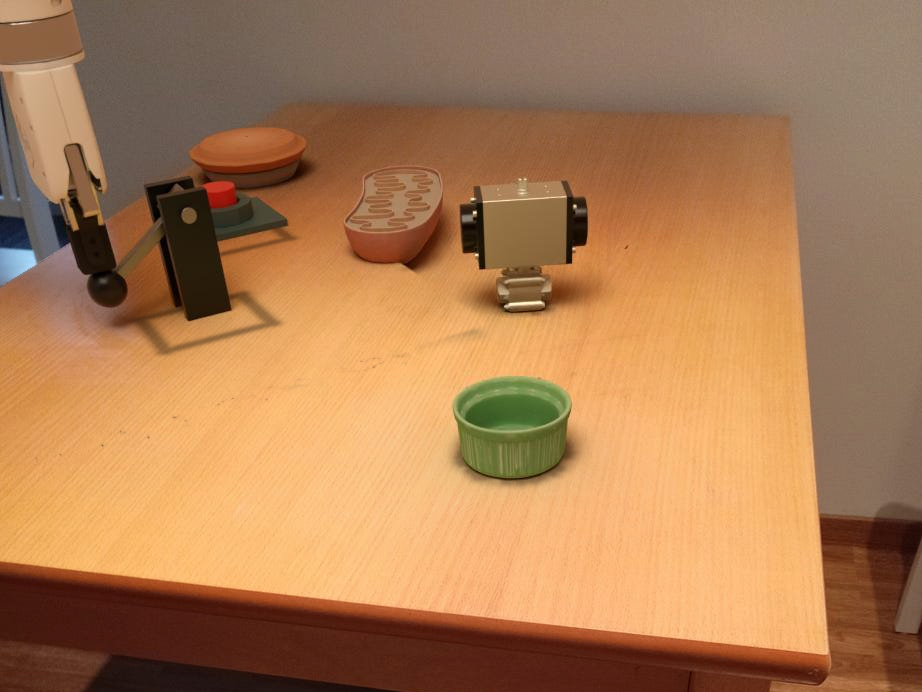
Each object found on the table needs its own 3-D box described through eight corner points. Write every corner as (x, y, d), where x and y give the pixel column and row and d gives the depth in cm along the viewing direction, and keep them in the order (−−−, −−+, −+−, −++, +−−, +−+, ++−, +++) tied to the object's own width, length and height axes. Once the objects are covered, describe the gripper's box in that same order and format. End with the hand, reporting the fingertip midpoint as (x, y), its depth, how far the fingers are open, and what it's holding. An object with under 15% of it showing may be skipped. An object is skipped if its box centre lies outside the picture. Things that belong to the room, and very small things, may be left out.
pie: (292, 195, 130) (285, 153, 127) (178, 194, 132) (168, 153, 129) (324, 159, 141) (319, 120, 138) (219, 159, 144) (211, 120, 140)
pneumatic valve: (586, 311, 99) (589, 182, 91) (466, 319, 99) (459, 190, 91) (578, 289, 103) (581, 163, 95) (463, 296, 103) (457, 171, 95)
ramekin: (594, 448, 79) (596, 396, 76) (519, 497, 74) (518, 445, 71) (507, 414, 84) (505, 364, 81) (431, 458, 79) (427, 407, 76)
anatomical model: (372, 209, 124) (367, 166, 121) (452, 207, 124) (450, 163, 121) (343, 281, 107) (336, 233, 104) (436, 279, 107) (433, 231, 103)
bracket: (164, 351, 96) (128, 212, 88) (138, 319, 102) (102, 186, 94) (273, 323, 100) (248, 187, 92) (242, 293, 106) (216, 163, 98)
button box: (190, 261, 114) (182, 224, 111) (164, 235, 120) (156, 200, 118) (290, 238, 118) (284, 202, 115) (259, 215, 125) (253, 180, 122)
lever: (115, 321, 95) (83, 295, 92) (105, 308, 97) (74, 282, 94) (209, 215, 94) (180, 185, 91) (197, 204, 96) (168, 176, 93)
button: (209, 213, 115) (205, 194, 113) (198, 204, 117) (194, 185, 116) (242, 206, 116) (239, 187, 115) (231, 197, 119) (227, 178, 118)
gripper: (-33, 34, 85) (39, 254, 97) (1, 64, 75) (76, 306, 87) (58, 21, 87) (117, 237, 99) (102, 49, 77) (161, 285, 89)
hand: (98, 268), depth 93 cm, fingers closed
